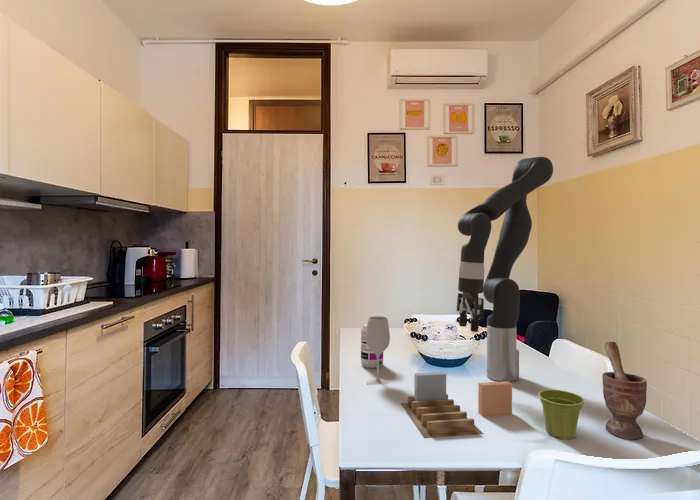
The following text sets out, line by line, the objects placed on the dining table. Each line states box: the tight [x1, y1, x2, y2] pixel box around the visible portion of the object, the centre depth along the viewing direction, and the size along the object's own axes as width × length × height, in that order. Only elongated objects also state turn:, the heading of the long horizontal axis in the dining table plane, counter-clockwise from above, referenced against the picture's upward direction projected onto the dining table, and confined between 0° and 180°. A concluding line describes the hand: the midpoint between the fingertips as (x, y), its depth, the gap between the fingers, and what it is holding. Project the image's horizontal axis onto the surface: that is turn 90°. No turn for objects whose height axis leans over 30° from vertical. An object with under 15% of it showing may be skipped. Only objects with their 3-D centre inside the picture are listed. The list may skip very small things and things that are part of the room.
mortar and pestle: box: [601, 341, 648, 441], centre depth 96 cm, size 12×9×20 cm
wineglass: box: [366, 316, 391, 386], centre depth 129 cm, size 8×8×21 cm
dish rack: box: [400, 393, 484, 439], centre depth 101 cm, size 14×20×4 cm
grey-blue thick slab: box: [413, 371, 447, 401], centre depth 107 cm, size 8×2×9 cm, turn 98°
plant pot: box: [538, 389, 585, 440], centre depth 94 cm, size 9×9×9 cm
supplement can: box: [360, 322, 384, 369], centre depth 149 cm, size 8×8×15 cm
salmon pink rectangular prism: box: [477, 381, 513, 417], centre depth 103 cm, size 8×2×9 cm, turn 98°
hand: (468, 328), depth 126 cm, fingers open, 8 cm apart
